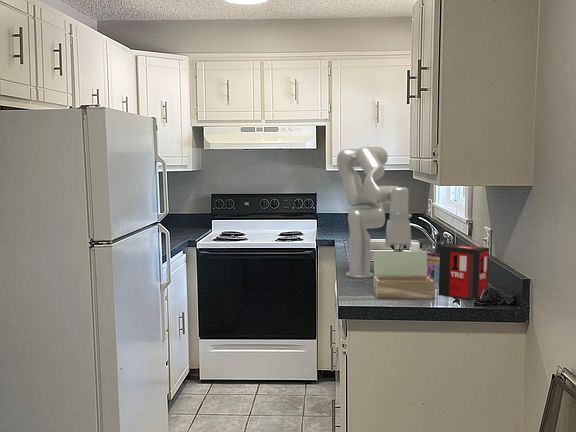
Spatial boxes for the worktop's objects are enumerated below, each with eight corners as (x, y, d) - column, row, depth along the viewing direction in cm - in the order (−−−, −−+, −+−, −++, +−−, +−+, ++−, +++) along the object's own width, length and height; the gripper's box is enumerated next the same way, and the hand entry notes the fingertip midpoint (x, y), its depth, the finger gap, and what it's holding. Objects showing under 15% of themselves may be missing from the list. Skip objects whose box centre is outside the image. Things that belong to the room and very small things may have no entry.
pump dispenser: (426, 270, 297) (427, 240, 295) (439, 268, 304) (440, 238, 302) (444, 274, 289) (445, 242, 288) (456, 271, 296) (457, 240, 294)
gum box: (408, 284, 265) (409, 253, 264) (417, 281, 271) (418, 251, 270) (460, 292, 250) (461, 259, 248) (468, 289, 256) (469, 257, 255)
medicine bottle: (412, 263, 318) (412, 240, 317) (425, 264, 314) (425, 241, 313) (406, 265, 312) (407, 242, 311) (419, 266, 308) (420, 243, 307)
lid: (374, 275, 246) (373, 275, 247) (427, 275, 247) (426, 275, 247) (374, 251, 247) (373, 251, 248) (426, 251, 247) (426, 251, 248)
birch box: (373, 293, 247) (373, 276, 246) (427, 293, 247) (427, 276, 247) (377, 298, 237) (377, 281, 236) (433, 299, 237) (433, 281, 237)
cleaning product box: (438, 295, 245) (440, 245, 243) (448, 291, 251) (450, 243, 249) (477, 301, 234) (479, 250, 232) (487, 297, 240) (489, 247, 238)
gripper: (414, 216, 255) (413, 259, 257) (379, 216, 255) (378, 259, 257) (418, 217, 248) (417, 262, 250) (382, 217, 248) (381, 262, 249)
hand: (397, 260), depth 253 cm, fingers closed
